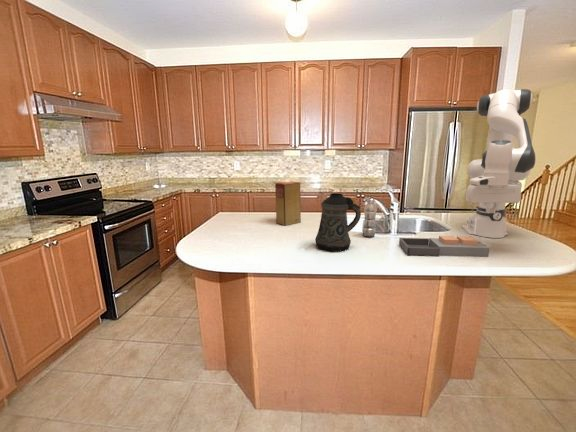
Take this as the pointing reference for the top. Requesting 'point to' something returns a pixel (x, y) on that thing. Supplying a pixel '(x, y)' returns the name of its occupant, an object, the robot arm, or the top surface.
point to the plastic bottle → (370, 218)
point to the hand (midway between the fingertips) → (490, 213)
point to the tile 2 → (467, 240)
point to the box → (418, 247)
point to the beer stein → (336, 223)
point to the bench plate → (460, 249)
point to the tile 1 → (448, 240)
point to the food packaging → (288, 203)
